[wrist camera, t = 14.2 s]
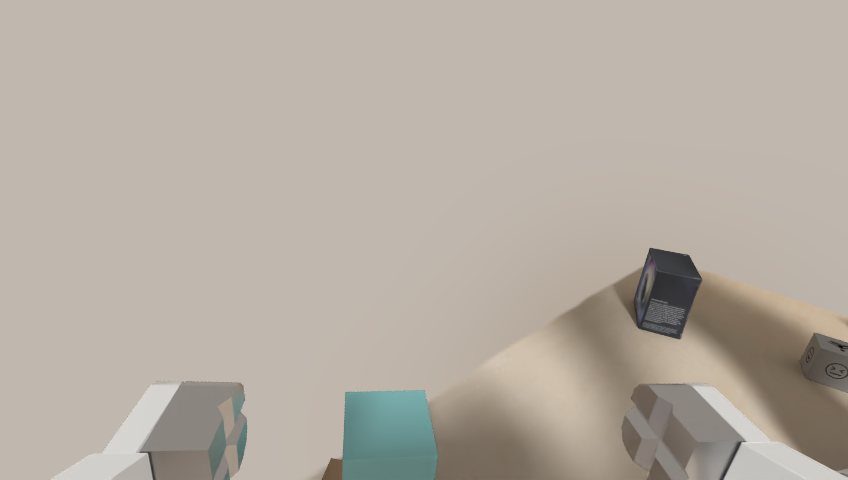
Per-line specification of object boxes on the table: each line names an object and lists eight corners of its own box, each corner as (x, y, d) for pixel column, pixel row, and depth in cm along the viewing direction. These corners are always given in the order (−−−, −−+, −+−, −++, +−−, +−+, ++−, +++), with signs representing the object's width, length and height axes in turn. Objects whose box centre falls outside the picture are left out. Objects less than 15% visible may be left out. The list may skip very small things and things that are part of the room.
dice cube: (844, 376, 60) (860, 346, 58) (852, 395, 56) (871, 364, 54) (799, 361, 62) (814, 332, 61) (804, 378, 58) (820, 348, 57)
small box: (630, 299, 76) (648, 245, 72) (671, 309, 74) (690, 254, 70) (635, 328, 66) (655, 268, 63) (681, 340, 64) (705, 279, 61)
